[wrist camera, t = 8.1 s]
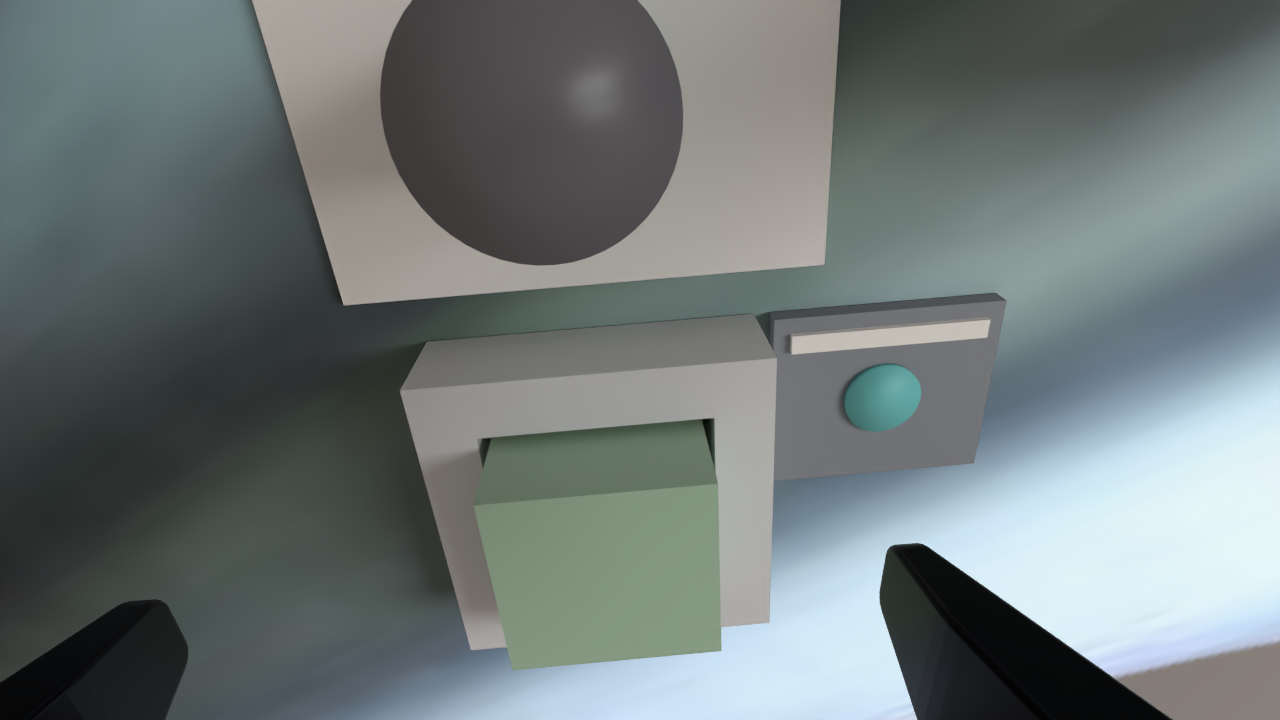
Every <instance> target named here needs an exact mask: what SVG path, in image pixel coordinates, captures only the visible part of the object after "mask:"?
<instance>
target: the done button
mask: <svg viewBox="0 0 1280 720" xmlns="http://www.w3.org/2000/svg"><path fill="white" fill-rule="evenodd" d="M473 506H474V510H475V515H476V519H477V523H478V527H479V531H480V536H481V540H482V544H483V548H484V552H485V557H486V561H487V565H488V569H489V574H490V578H491V582H492V586H493V590H494V595H495V599H496V603H497V607H498V611H499V616H500V620H501V624H502V628H503V632H504V637H505V641H506V645H507V649H508V653H509V658H510V662H511V666H512V670H521V669H531V668H542V667H553V666H564V665H574V664H585V663H596V662H607V661H617V660H628V659H639V658H650V657H661V656H671V655H682V654H693V653H704V652H714V651H721V608H720V556H719V503H718V481H717V477H716V473H715V469H714V466H713V462H712V458H711V454H710V450H709V446H708V442H707V438H706V434H705V430H704V426H703V422H702V419H696V420H685V421H673V422H662V423H650V424H639V425H628V426H616V427H605V428H593V429H582V430H571V431H559V432H548V433H536V434H525V435H514V436H502V437H492V438H491V441H490V445H489V449H488V453H487V456H486V460H485V464H484V468H483V471H482V475H481V479H480V483H479V486H478V490H477V494H476V498H475V501H474V505H473Z"/></svg>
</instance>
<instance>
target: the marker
mask: <svg viewBox="0 0 1280 720" xmlns="http://www.w3.org/2000/svg"><path fill="white" fill-rule="evenodd" d="M380 105H381V118H382V123H383V129H384V134H385V138H386V141H387V145H388V148H389V151H390V155H391V157H392V159H393V162H394V164H395V166H396V168H397V171H398V173H399V175H400V177H401V178H402V180H403V182H404V184H405V185H406V187H407V189H408V190H409V192H410V193H411V195H412V196H413V197H414V199H415V200H416V201H417V203H418V204H419V205H420V207H421V208H422V209H423V210H424V211H425V212H426V213H427V214H428V215H429V216H430V217H431V218H432V219H433V220H434V221H435V223H437V224H438V225H439V226H440V227H442V228H443V229H444V230H445V231H446V232H448V233H449V234H450V235H451V236H453V237H454V238H456V239H458V240H459V241H461V242H462V243H464V244H465V245H467V246H469V247H471V248H473V249H475V250H477V251H479V252H481V253H483V254H486V255H489V256H491V257H494V258H497V259H500V260H504V261H508V262H513V263H517V264H526V265H536V266H540V265H558V264H565V263H572V262H575V261H579V260H582V259H586V258H589V257H591V256H594V255H596V254H598V253H601V252H603V251H605V250H607V249H609V248H610V247H612V246H614V245H615V244H617V243H619V242H620V241H622V240H623V239H624V238H626V237H627V236H628V235H629V234H631V233H632V232H633V231H634V230H635V229H636V228H637V227H638V226H639V225H640V224H641V223H642V222H643V221H644V220H645V219H646V218H647V217H648V216H649V214H650V213H651V212H652V211H653V209H654V208H655V207H656V205H657V204H658V202H659V201H660V199H661V197H662V195H663V194H664V192H665V190H666V189H667V187H668V184H669V182H670V180H671V177H672V175H673V172H674V170H675V167H676V163H677V159H678V156H679V152H680V147H681V140H682V133H683V103H682V93H681V87H680V82H679V78H678V73H677V69H676V66H675V63H674V61H673V58H672V55H671V52H670V50H669V47H668V45H667V43H666V41H665V39H664V37H663V36H662V34H661V32H660V30H659V28H658V27H657V25H656V24H655V22H654V21H653V19H652V18H651V16H650V15H649V13H648V12H647V10H646V9H645V8H644V7H643V6H642V5H641V4H640V2H639V1H638V0H412V1H411V3H410V4H409V5H408V7H407V8H406V9H405V11H404V12H403V14H402V16H401V18H400V19H399V21H398V23H397V25H396V27H395V29H394V31H393V33H392V36H391V39H390V42H389V44H388V47H387V50H386V54H385V58H384V63H383V68H382V73H381V86H380Z"/></svg>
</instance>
